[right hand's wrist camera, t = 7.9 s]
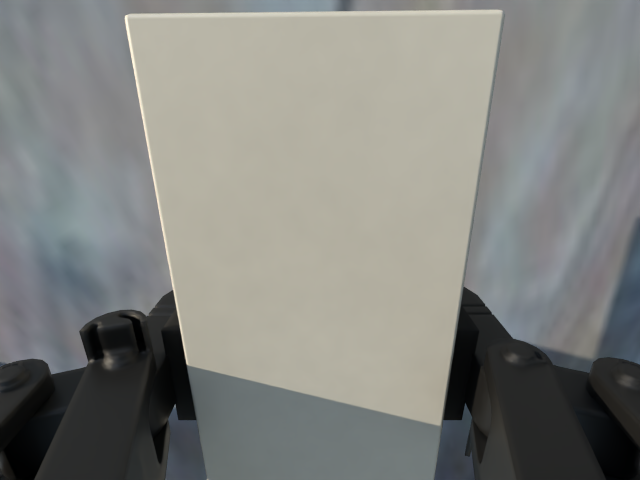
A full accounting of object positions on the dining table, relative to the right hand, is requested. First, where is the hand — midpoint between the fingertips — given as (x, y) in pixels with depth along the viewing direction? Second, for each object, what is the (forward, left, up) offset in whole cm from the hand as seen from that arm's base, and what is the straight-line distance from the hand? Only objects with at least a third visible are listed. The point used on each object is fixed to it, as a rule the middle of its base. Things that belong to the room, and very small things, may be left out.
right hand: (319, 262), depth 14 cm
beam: (+6, +19, 0) cm, 20 cm away
